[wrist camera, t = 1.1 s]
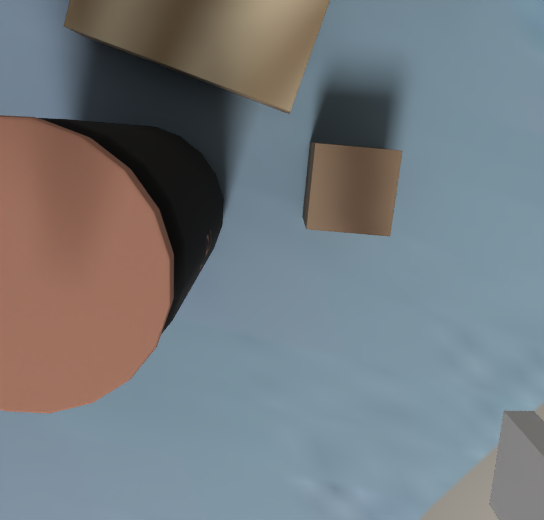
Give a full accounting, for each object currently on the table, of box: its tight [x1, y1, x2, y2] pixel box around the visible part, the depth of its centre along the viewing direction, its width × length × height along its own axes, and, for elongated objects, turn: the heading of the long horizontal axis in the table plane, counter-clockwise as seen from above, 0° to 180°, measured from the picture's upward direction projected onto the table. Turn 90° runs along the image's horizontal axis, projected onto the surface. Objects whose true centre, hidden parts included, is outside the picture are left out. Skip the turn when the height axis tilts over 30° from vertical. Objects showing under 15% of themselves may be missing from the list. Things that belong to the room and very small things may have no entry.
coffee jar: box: [0, 115, 223, 413], centre depth 26 cm, size 11×11×18 cm
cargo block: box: [302, 142, 402, 236], centre depth 32 cm, size 5×5×5 cm
